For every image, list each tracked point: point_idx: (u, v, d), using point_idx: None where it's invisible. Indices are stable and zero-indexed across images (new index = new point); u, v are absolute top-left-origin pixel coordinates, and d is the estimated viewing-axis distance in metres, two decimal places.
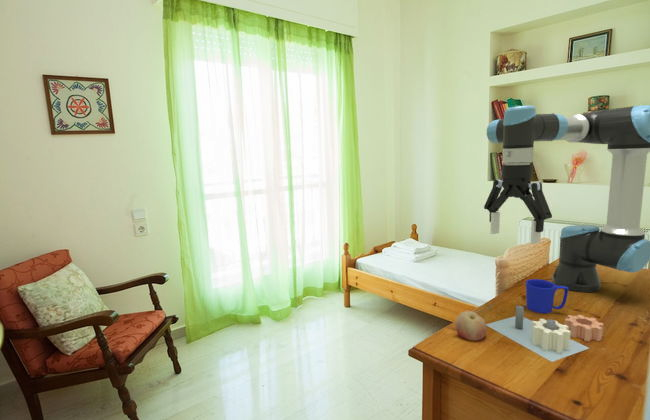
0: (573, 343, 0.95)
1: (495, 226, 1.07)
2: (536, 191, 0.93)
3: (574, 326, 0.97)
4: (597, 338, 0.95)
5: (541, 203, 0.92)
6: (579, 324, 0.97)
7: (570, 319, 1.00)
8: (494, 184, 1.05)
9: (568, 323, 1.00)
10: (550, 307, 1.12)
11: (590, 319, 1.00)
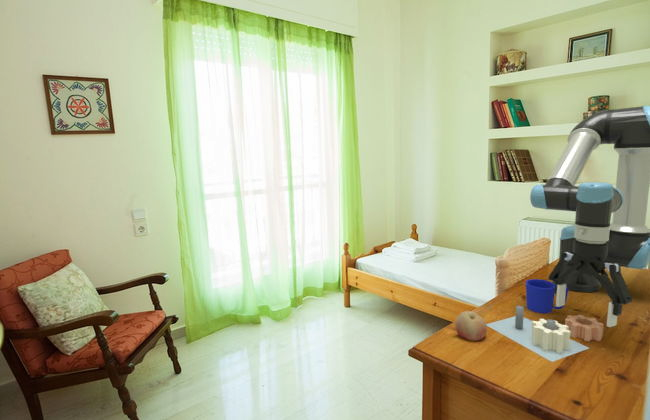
0: (573, 343, 0.95)
1: (561, 298, 1.04)
2: (615, 273, 0.89)
3: (574, 326, 0.97)
4: (597, 338, 0.95)
5: (621, 286, 0.88)
6: (579, 324, 0.97)
7: (570, 319, 1.00)
8: (562, 256, 1.01)
9: (568, 323, 1.00)
10: (550, 307, 1.12)
11: (590, 319, 1.00)
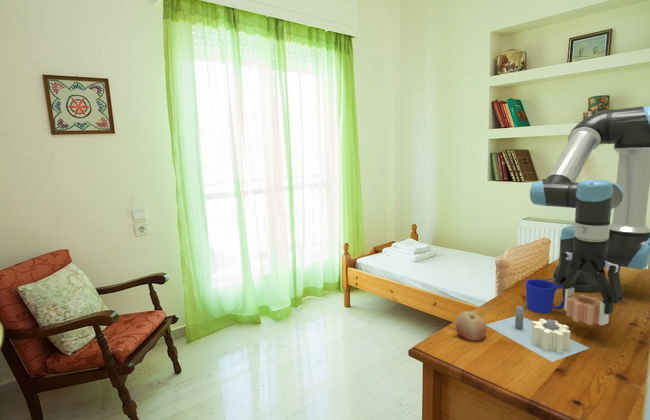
0: (573, 343, 0.95)
1: None
2: (613, 274, 0.90)
3: (576, 305, 0.96)
4: None
5: (615, 287, 0.90)
6: (581, 303, 0.97)
7: (572, 298, 1.00)
8: (563, 257, 1.01)
9: (570, 302, 0.99)
10: (550, 307, 1.12)
11: (592, 298, 0.99)
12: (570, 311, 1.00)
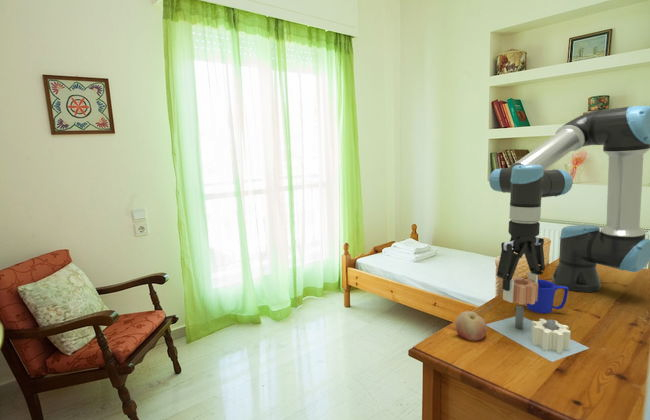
0: (573, 343, 0.95)
1: None
2: (502, 250, 0.98)
3: None
4: None
5: (500, 262, 0.98)
6: None
7: (520, 278, 1.04)
8: None
9: None
10: (550, 307, 1.12)
11: (529, 285, 0.99)
12: None
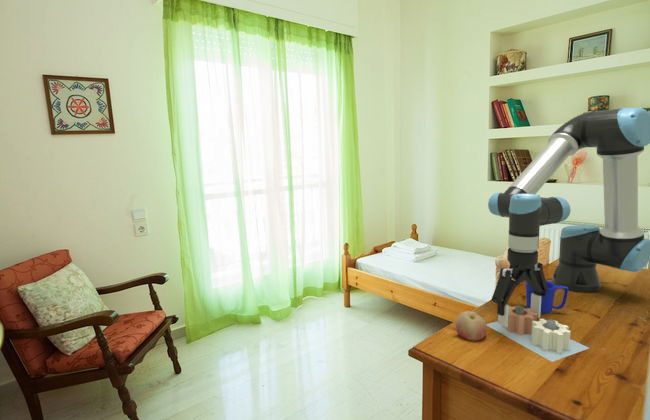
0: (573, 343, 0.95)
1: (533, 308, 1.05)
2: (500, 276, 0.99)
3: None
4: None
5: (496, 287, 0.99)
6: (510, 308, 1.05)
7: None
8: None
9: None
10: (550, 307, 1.12)
11: (528, 315, 1.00)
12: None
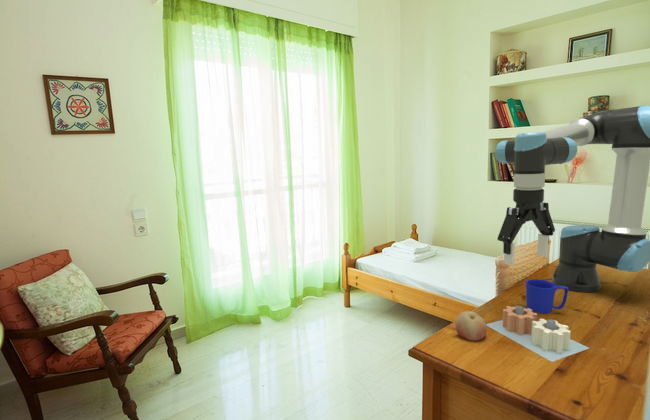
0: (573, 343, 0.95)
1: (541, 248, 1.06)
2: (506, 215, 0.99)
3: None
4: None
5: (503, 226, 0.99)
6: (510, 308, 1.05)
7: None
8: None
9: None
10: (550, 307, 1.12)
11: (528, 315, 1.00)
12: None
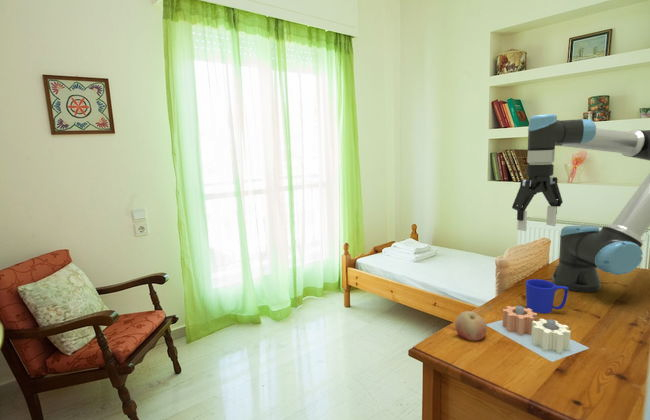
0: (573, 343, 0.95)
1: (549, 218, 1.20)
2: (520, 186, 1.14)
3: None
4: None
5: (517, 196, 1.14)
6: (510, 308, 1.05)
7: None
8: None
9: None
10: (550, 307, 1.12)
11: (528, 315, 1.00)
12: None
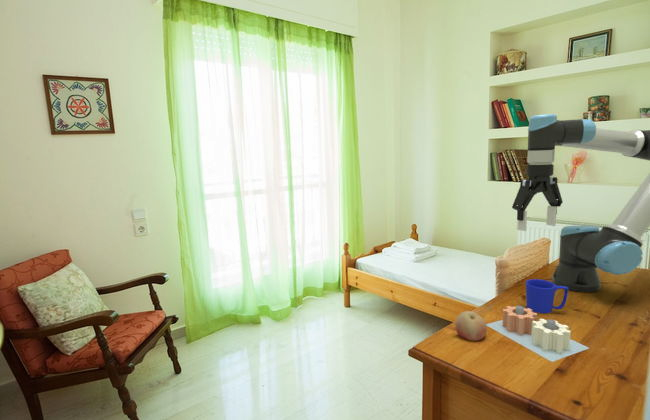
0: (573, 343, 0.95)
1: (549, 218, 1.20)
2: (520, 186, 1.14)
3: None
4: None
5: (517, 196, 1.14)
6: (510, 308, 1.05)
7: None
8: None
9: None
10: (550, 307, 1.12)
11: (528, 315, 1.00)
12: None
